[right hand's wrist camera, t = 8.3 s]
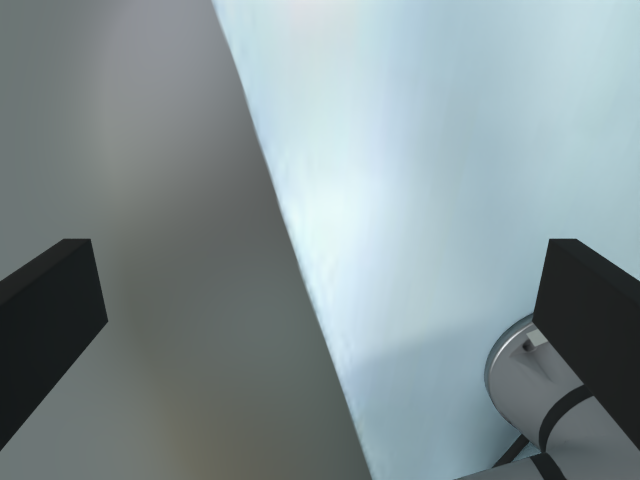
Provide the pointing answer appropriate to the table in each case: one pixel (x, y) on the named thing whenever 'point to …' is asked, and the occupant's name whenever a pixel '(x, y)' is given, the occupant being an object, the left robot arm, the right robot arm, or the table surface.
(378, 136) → the table surface
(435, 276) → the table surface
